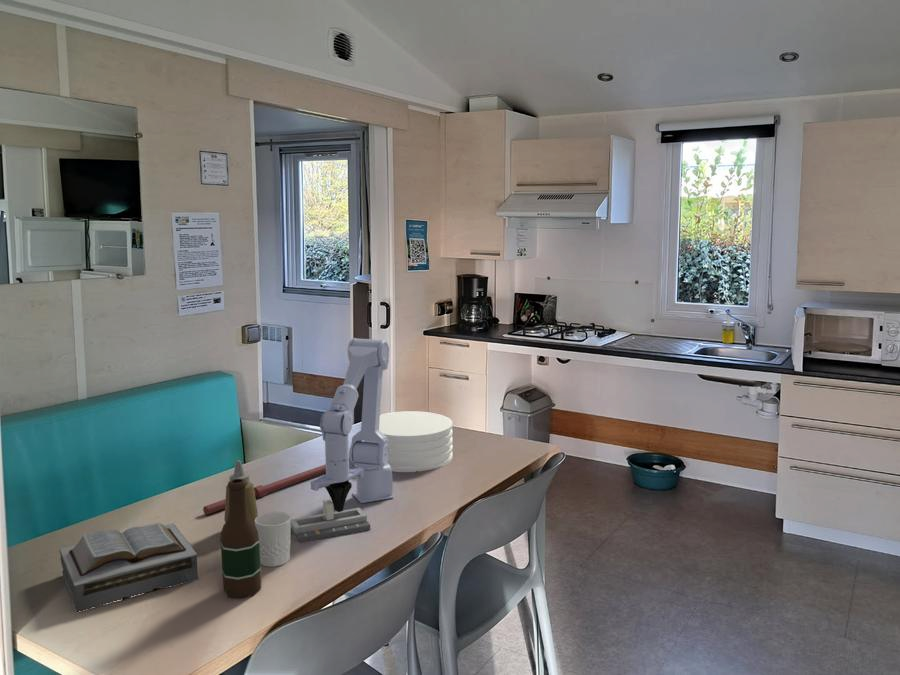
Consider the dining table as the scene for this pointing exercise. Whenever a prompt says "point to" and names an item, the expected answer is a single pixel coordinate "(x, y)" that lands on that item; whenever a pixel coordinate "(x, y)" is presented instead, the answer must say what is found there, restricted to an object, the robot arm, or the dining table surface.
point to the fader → (327, 510)
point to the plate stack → (417, 440)
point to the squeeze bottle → (249, 490)
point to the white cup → (274, 538)
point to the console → (329, 525)
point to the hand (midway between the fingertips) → (338, 510)
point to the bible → (126, 563)
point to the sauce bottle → (240, 547)
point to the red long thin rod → (270, 487)
